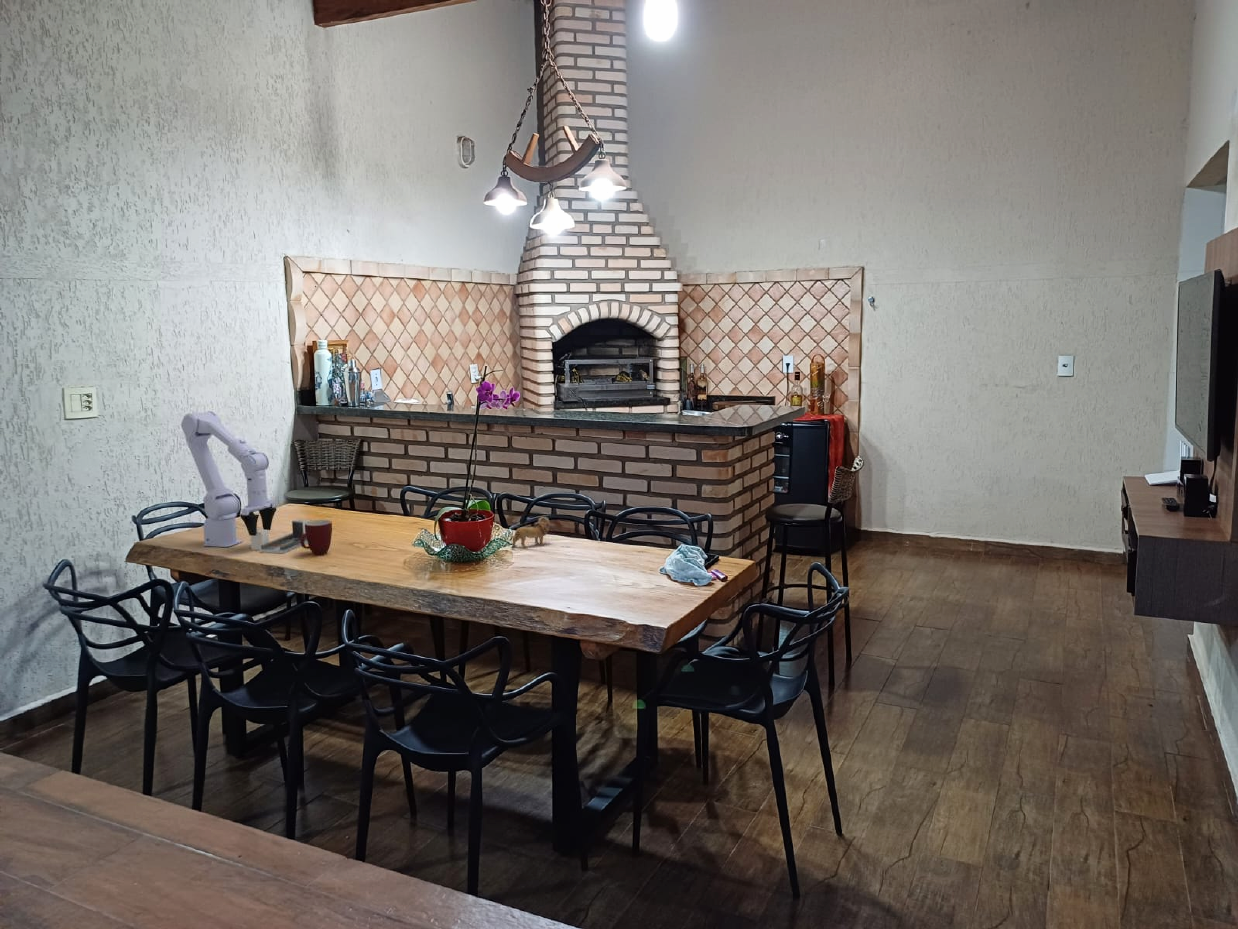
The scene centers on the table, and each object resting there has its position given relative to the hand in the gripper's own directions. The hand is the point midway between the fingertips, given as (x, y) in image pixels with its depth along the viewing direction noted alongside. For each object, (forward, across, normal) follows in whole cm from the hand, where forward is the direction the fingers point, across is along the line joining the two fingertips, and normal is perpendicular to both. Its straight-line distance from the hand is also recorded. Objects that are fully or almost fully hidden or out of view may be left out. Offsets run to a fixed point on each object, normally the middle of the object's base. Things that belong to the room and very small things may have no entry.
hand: (260, 532), depth 284 cm
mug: (+6, -3, -22) cm, 23 cm away
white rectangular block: (+5, 0, 0) cm, 5 cm away
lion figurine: (+6, +22, -84) cm, 87 cm away
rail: (+5, +5, -7) cm, 10 cm away
